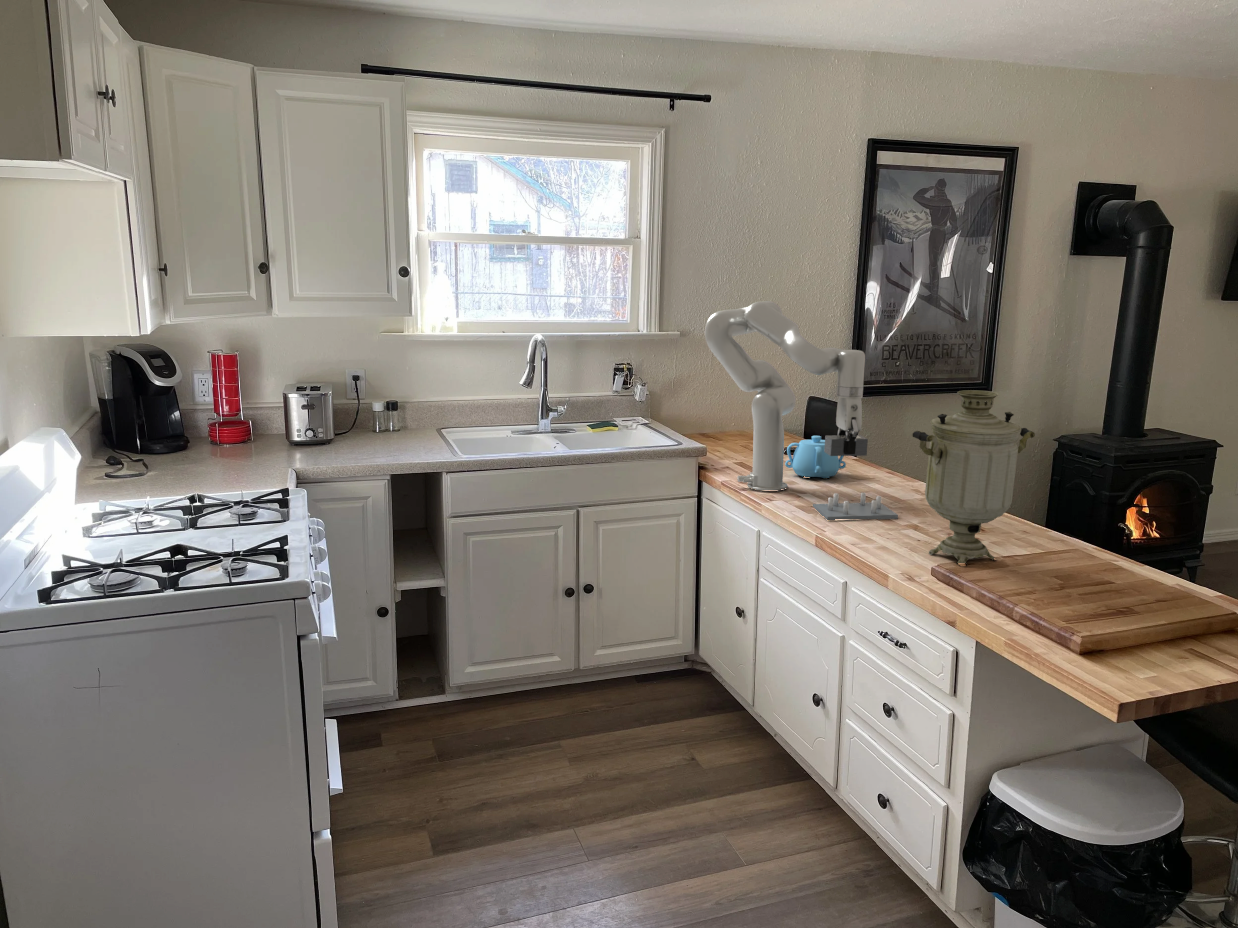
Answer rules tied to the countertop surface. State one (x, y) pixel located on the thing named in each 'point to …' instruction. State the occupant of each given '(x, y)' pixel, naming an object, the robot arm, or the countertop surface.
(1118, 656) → the countertop surface
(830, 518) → the peg board
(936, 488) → the samovar
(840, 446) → the drive
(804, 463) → the decorative pot
